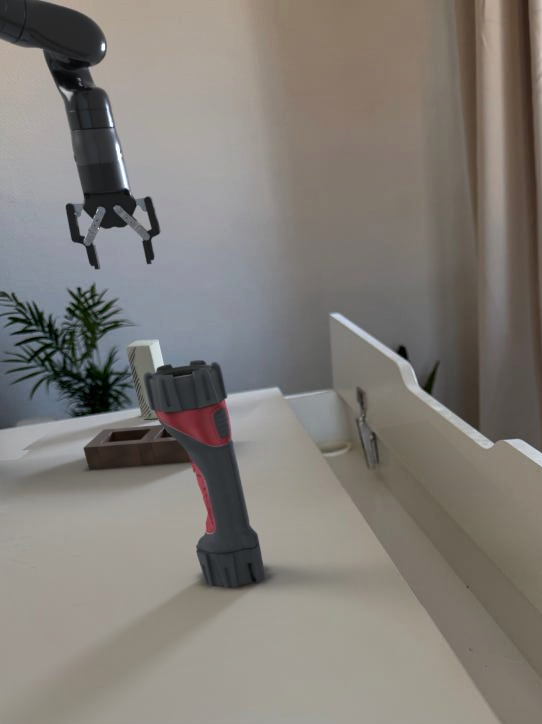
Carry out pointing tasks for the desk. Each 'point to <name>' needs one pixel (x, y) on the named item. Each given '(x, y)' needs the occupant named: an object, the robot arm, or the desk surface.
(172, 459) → the socket block
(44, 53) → the robot arm
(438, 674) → the desk surface
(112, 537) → the desk surface
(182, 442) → the flashlight
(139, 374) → the box
